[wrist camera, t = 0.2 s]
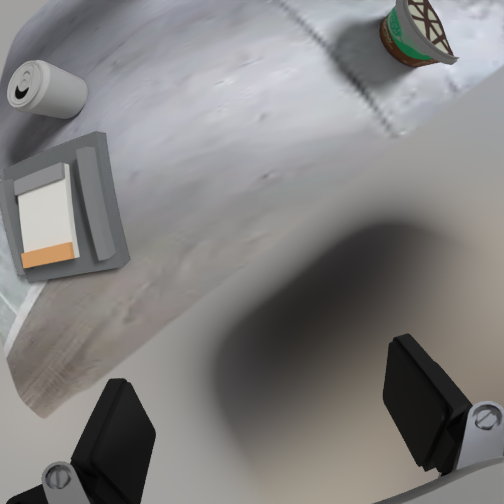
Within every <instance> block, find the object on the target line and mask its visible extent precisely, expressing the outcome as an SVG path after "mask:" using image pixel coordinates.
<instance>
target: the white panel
mask: <svg viewBox="0 0 504 504" xmlns="http://www.w3.org/2000/svg"><path fill="white" fill-rule="evenodd" d="M14 191H15V195H16V196H18V200H19V213H20V223H21V232H22V240H23V247H24V253H22V254H21V257H22V263H23V268H28V267H33V266H38V265H43V264H48V263H53V262H58V261H63V260H68V259H73V258H77V257H80V256H79V250H78V244H77V237H76V230H75V223H74V215H73V206H72V196H71V185H70V171H69V165H68V164H65V163H62V162H61V163H58V164H55V165H52V166H50V167H47V168H45V169H42V170H40V171H37V172H35V173H32V174H30V175H27V176H25V177H23V178H20V179H18V180H16V181H14Z"/></svg>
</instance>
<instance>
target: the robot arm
mask: <svg viewBox="0 0 504 504" xmlns="http://www.w3.org/2000/svg"><path fill="white" fill-rule="evenodd" d="M383 401H384V404H385V405H386V407H387V409H388V411H389V413H390V415H391V417H392V419H393V420H394V422H395V424H396V426H397V428H398V430H399V432H400V433H401V435H402V437H403V439H404V441H405V443H406V445H407V447H408V449H409V451H410V452H411V454H412V456H413V458H414V460H415V462H416V464H417V465H418V466H419V467H420V466H422V467H423V469H424V471H425V472H426V471H429V470H431V469H433V468H435V467H436V469H437V470H438V472H440V473H439V476H438V479H435V480H433V481H431V482H429V483H426V484H424V485H422V486H419V487H417V488H414V489H412V490H409V491H407V492H404V493H401V494H399V495H396V496H393V497H390V498H388V499H385V500H382V501H379V502H376V503H373V504H504V409H503V408H502V407H501V406H500V405H499V404H497V403H495V402H491V401H482V402H479V403H477V404H475V405H474V406H473V405H472V404H471V403H470V401H469V400H468V399H467V398H466V396H465V395H464V394H463V393H462V392H461V390H460V389H459V388H458V387H457V386H456V384H455V383H454V382H453V381H452V380H451V378H450V377H449V376H448V375H447V374H446V373H445V371H444V370H443V369H442V368H441V367H440V366H439V364H437V363H436V362H435V361H433V360H432V359H431V357H430V356H429V355H428V354H427V353H426V352H425V351H424V349H423V348H422V347H421V346H420V345H419V344H418V343H417V341H416V340H415V339H414V338H413V337H412V336H411V335H410V334H404V335H401V336H398V337H394V339H393V341H392V342H390V343H389V348H388V357H387V366H386V374H385V382H384V389H383ZM155 438H156V432H155V429H154V427H153V425H152V423H151V421H150V420H149V418H148V416H147V414H146V412H145V410H144V408H143V406H142V404H141V402H140V400H139V398H138V396H137V394H136V392H135V390H134V388H133V386H132V385H131V383H130V382H127V380H126V379H123V378H121V379H120V378H118V379H109V381H108V382H107V384H106V386H105V388H104V390H103V392H102V394H101V396H100V398H99V400H98V402H97V404H96V406H95V408H94V410H93V412H92V414H91V416H90V418H89V420H88V423H87V425H86V427H85V429H84V431H83V433H82V435H81V437H80V440H79V442H78V444H77V446H76V448H75V450H74V453H73V455H72V457H71V463H70V464H69V463H66V462H55V463H52V464H51V465H49V466H48V467H47V468H46V469H45V470H44V472H43V474H42V484H41V485H39V486H36V487H34V488H32V489H30V490H28V491H25V492H23V493H21V494H18V495H16V496H14V497H12V498H10V499H9V500H8V501H7V503H6V504H140V503H141V498H142V494H143V489H144V485H145V480H146V476H147V471H148V467H149V463H150V458H151V454H152V449H153V446H154V442H155Z"/></svg>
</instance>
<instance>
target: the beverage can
mask: <svg viewBox="0 0 504 504" xmlns="http://www.w3.org/2000/svg"><path fill="white" fill-rule="evenodd" d="M87 93H88V90H87V85H86V83H85V82H84V81H83V80H82V79H81V78H79V77H77V76H75V75H73V74H71V73H69V72H66V71H64V70H62V69H60V68H58V67H56V66H53V65H51V64H49V63H47V62H45V61H42V60H35V61H27V62H25V63H23V64H22V65H21V66H20V67H19V68H18V69H17V70H16V71H15V72H14V74H13V75H12V77H11V79H10V82H9V85H8V89H7V98H8V101H9V103H10V104H11V105H12V106H13V107H15V109H16V110H18V111H21V112H27V113H33V114H39V115H44V116H50V117H55V118H60V119H68V118H71V117H73V116H75V115H76V114H77V113H78V112H79V111H80V110H81V109H82V108H83V106H84V104H85V102H86V99H87Z"/></svg>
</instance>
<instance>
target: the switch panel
mask: <svg viewBox="0 0 504 504" xmlns="http://www.w3.org/2000/svg"><path fill="white" fill-rule="evenodd" d="M61 162H62V163H65V164H68V165H69V171H70V185H71V196H72V206H73V215H74V223H75V230H76V237H77V244H78V250H79V256H80V257H77V258H73V259H68V260H63V261H58V262H53V263H48V264H43V265H38V266H33V267H28V268H23V263H22V257H21V254H22V253H24V247H23V240H22V232H21V223H20V213H19V200H18V196H16V195H15V191H14V181H16V180H18V179H20V178H23V177H25V176H27V175H30V174H32V173H35V172H37V171H40V170H42V169H45V168H47V167H50V166H52V165H55V164H58V163H61ZM3 172H4V180H2V181H0V206H1V211H2V216H3V221H4V225H5V230H6V234H7V238H8V242H9V246H10V249H11V253H12V257H13V260H14V264H15V267H16V270H17V273H18V276H19V275H24V274H26V275H27V278H28V281H29V282H35V281H41V280H47V279H53V278H59V277H65V276H71V275H77V274H83V273H89V272H95V271H101V270H107V269H113V268H120V267H124V266H125V265H126V264H127V263H128V262H129V261H130V256H129V252H128V248H127V244H126V240H125V236H124V232H123V227H122V223H121V218H120V214H119V209H118V204H117V199H116V194H115V189H114V183H113V178H112V172H111V166H110V160H109V153H108V146H107V139H106V133H102V132H97V131H96V132H93V133H90V134H87V135H84V136H81V137H79V138H76V139H73V140H70V141H68V142H65V143H63V144H60V145H58V146H55V147H53V148H50V149H48V150H45V151H43V152H41V153H38V154H36V155H34V156H31V157H29V158H27V159H25V160H23V161H20V162H18V163H16V164H14V165H12V166H10V167H8V168H6V169H4V170H3Z"/></svg>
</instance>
